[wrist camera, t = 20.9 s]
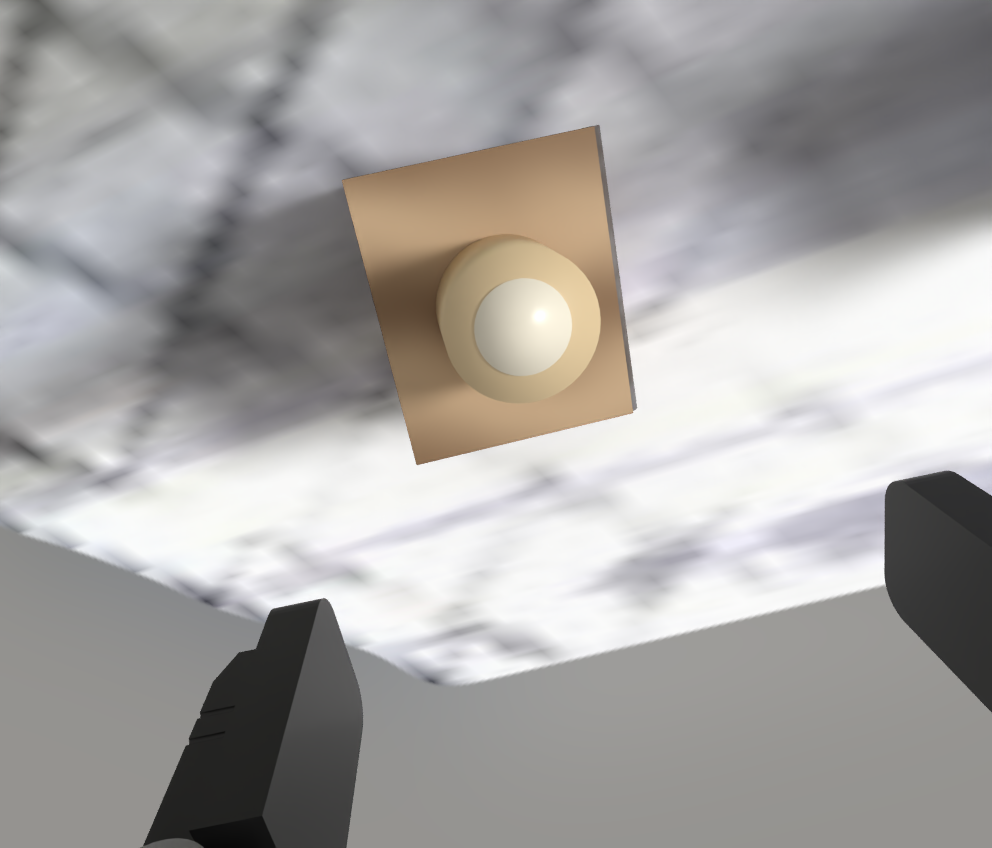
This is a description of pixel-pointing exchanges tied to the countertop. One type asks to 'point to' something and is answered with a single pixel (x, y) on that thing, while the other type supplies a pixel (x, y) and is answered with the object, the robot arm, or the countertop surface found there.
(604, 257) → the lid
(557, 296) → the domed cream knob
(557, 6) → the countertop surface
